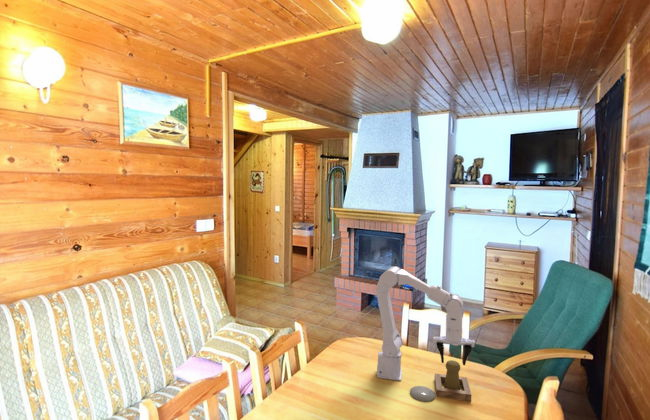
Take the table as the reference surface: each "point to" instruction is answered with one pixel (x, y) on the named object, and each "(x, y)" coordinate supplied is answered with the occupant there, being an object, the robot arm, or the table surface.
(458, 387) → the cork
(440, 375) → the walnut holder
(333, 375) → the table surface
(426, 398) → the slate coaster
